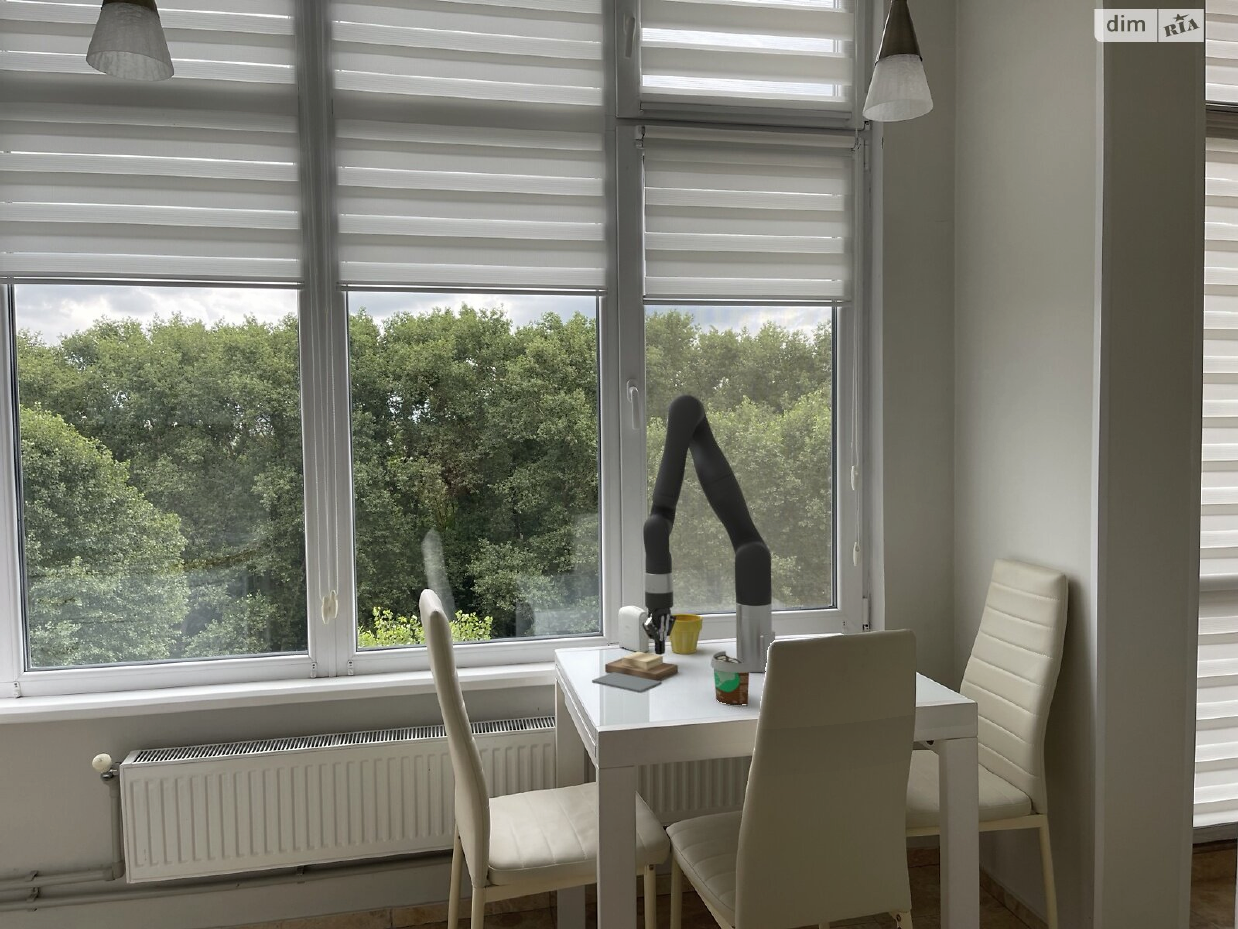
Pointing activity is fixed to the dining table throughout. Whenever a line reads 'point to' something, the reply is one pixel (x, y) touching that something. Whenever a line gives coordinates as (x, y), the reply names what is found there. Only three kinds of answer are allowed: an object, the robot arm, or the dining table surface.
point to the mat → (627, 682)
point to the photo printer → (633, 629)
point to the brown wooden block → (643, 670)
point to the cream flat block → (642, 660)
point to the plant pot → (685, 633)
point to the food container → (730, 679)
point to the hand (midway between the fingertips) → (660, 653)
